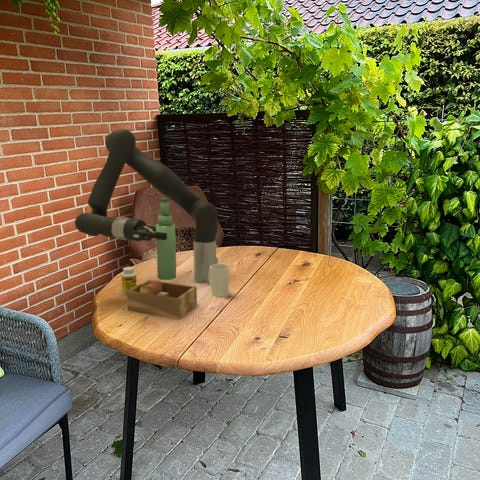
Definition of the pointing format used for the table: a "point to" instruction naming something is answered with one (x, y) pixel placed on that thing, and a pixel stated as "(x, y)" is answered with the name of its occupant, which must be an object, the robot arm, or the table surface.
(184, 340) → the table surface
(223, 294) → the mug
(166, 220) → the green bottle
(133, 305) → the crate
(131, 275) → the supplement bottle
